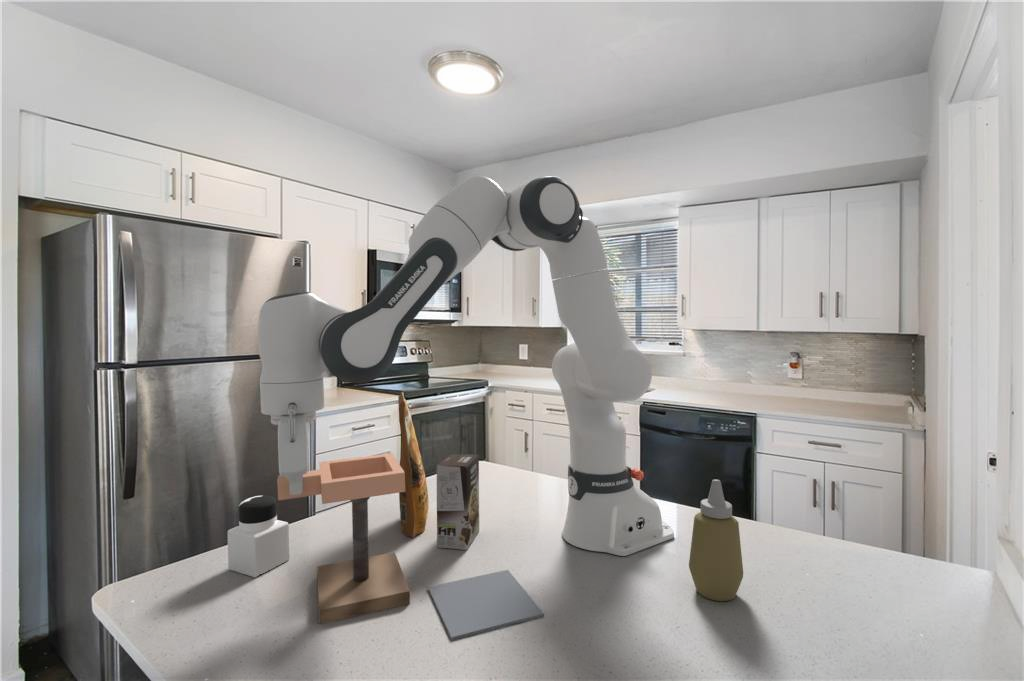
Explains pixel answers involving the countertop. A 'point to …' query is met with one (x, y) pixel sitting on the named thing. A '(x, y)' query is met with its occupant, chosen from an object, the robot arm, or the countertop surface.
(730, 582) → the squeeze bottle
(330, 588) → the stand
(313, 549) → the countertop surface
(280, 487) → the frame
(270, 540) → the medicine bottle
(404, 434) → the pancake mix bag
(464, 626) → the mat
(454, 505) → the coffee box
